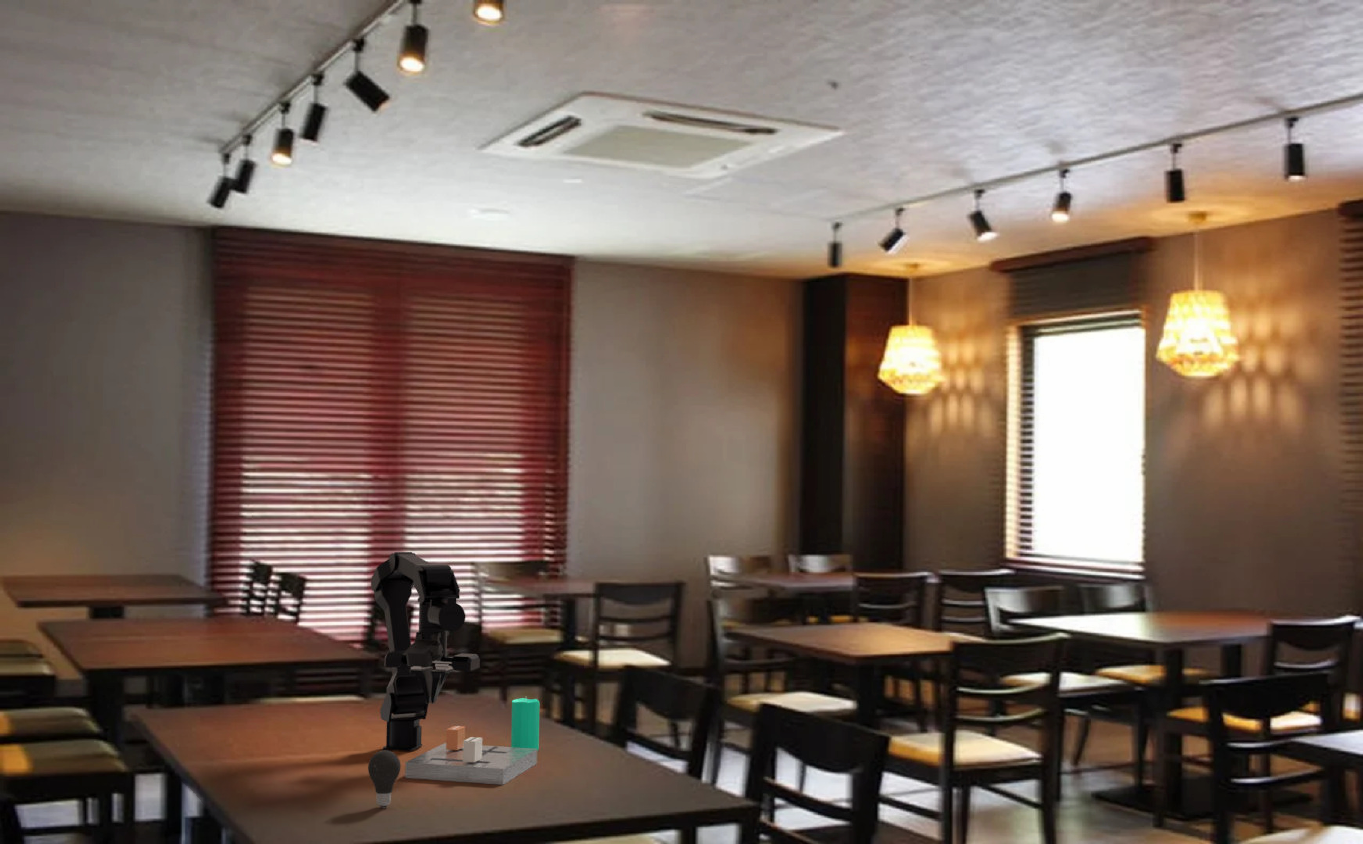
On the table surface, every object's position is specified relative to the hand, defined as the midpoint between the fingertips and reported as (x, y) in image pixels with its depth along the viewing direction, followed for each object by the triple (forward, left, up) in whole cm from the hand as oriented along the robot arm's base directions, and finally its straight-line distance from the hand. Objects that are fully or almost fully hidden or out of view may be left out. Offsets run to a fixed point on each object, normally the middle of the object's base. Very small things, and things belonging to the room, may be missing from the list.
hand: (431, 703), depth 287 cm
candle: (+14, +18, -12) cm, 26 cm away
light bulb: (+7, -38, -12) cm, 40 cm away
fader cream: (+13, -10, -12) cm, 20 cm away
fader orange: (+6, 0, -12) cm, 13 cm away
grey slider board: (+11, -5, -12) cm, 17 cm away
